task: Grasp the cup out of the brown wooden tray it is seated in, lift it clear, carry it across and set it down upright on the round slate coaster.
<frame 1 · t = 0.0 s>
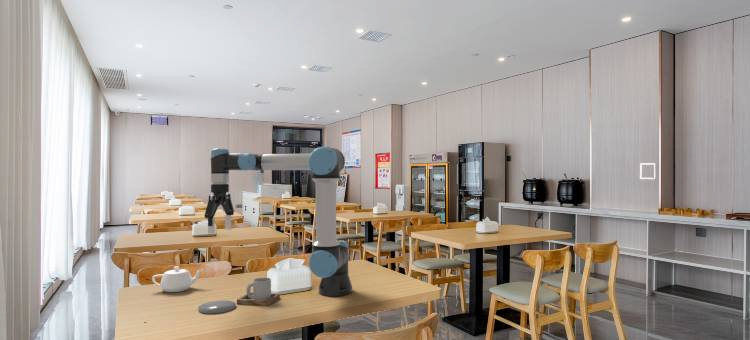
hand: (220, 231, 191), 28 cm above the table, fingers open, 13 cm apart
coaster: (217, 308, 171), on the table
brown wooden tray: (258, 300, 181), on the table
cup: (258, 301, 181), resting in brown wooden tray
teapot: (178, 290, 199), on the table
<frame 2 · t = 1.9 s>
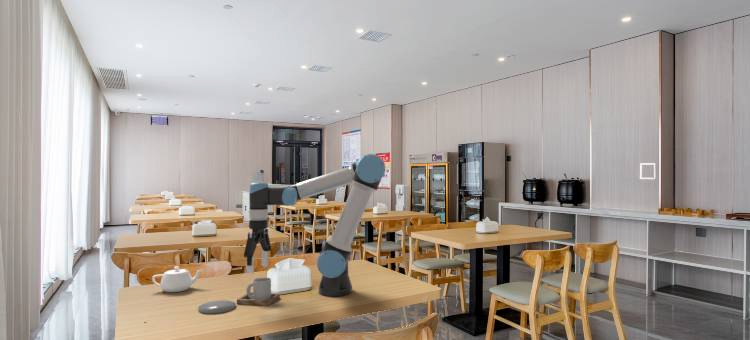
hand: (257, 269, 181), 13 cm above the table, fingers open, 13 cm apart
nothing on the table moved.
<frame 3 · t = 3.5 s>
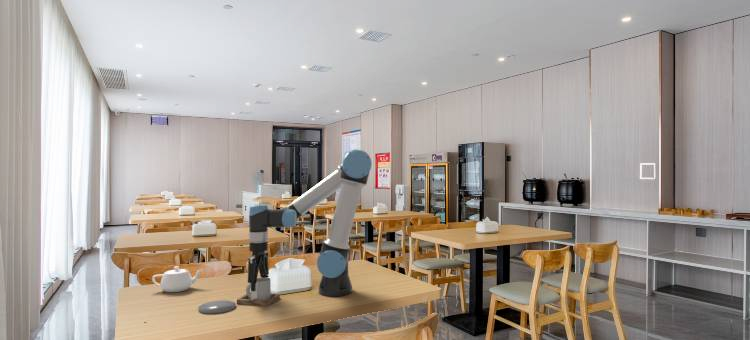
hand: (258, 295, 181), 2 cm above the table, fingers closed on cup, 7 cm apart
cup: (258, 301, 181), resting in brown wooden tray, touching gripper
everything else where it was.
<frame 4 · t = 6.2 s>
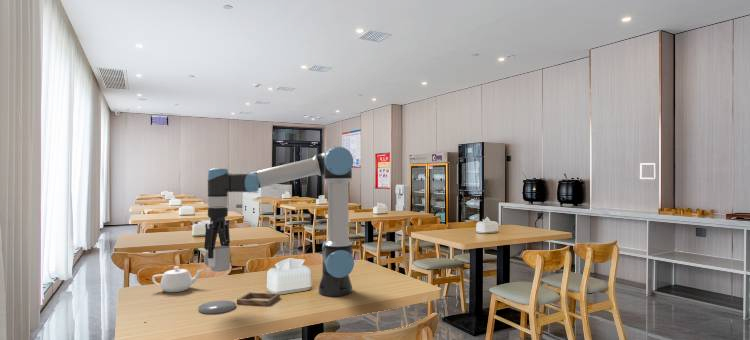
hand: (217, 264, 172), 17 cm above the table, fingers closed on cup, 7 cm apart
cup: (216, 270, 171), point 15 cm above the table, touching gripper
everything else where it was.
when the fingers open (4 cm above the table, at t = 9.1 s): cup stays where it is, resting on coaster.
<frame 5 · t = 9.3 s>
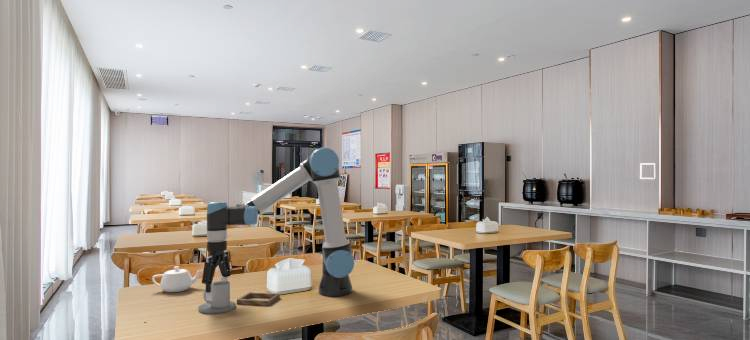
hand: (217, 296, 171), 5 cm above the table, fingers open, 10 cm apart
cup: (216, 306, 171), point 1 cm above the table, touching coaster
everything else where it was.
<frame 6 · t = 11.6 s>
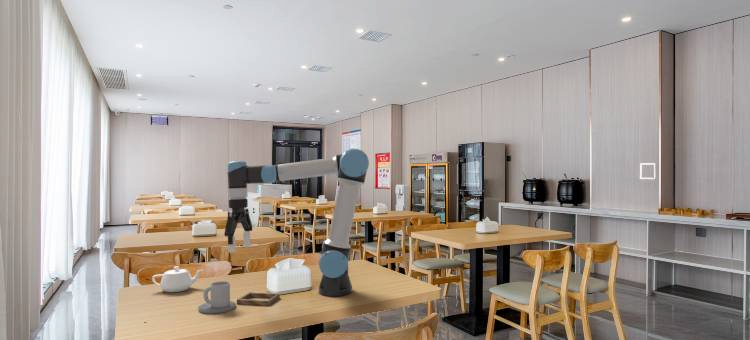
hand: (239, 249, 179), 22 cm above the table, fingers open, 13 cm apart
nothing on the table moved.
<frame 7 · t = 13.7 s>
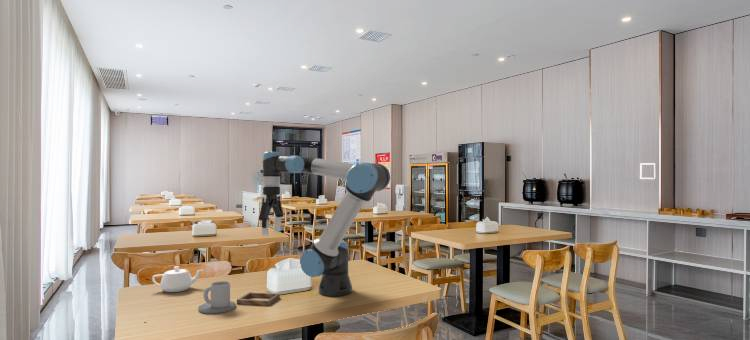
hand: (271, 233, 194), 27 cm above the table, fingers open, 13 cm apart
nothing on the table moved.
at the end: cup inside the target area on the coaster (0.5 cm from its centre), point 0.8 cm above the coaster's base; cup tilted 0°; the gripper is holding nothing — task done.
